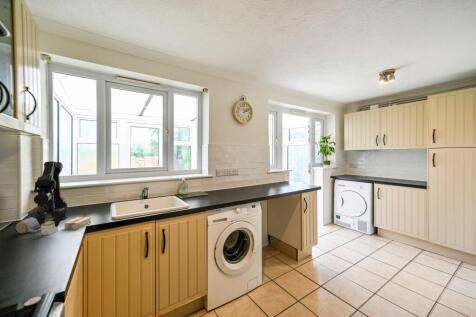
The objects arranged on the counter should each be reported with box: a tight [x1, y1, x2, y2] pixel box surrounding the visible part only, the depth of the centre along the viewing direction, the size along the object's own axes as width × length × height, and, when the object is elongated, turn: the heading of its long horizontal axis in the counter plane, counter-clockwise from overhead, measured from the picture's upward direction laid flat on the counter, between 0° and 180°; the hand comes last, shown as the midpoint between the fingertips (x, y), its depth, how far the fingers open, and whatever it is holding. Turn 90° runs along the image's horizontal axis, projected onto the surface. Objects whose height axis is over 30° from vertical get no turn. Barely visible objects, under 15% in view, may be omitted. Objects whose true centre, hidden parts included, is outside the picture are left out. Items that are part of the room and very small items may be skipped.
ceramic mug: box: [15, 217, 41, 234], centre depth 116 cm, size 11×8×8 cm
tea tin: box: [40, 220, 59, 236], centre depth 113 cm, size 5×5×6 cm
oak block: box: [63, 216, 92, 230], centre depth 122 cm, size 9×9×4 cm
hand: (49, 226), depth 113 cm, fingers open, 9 cm apart
